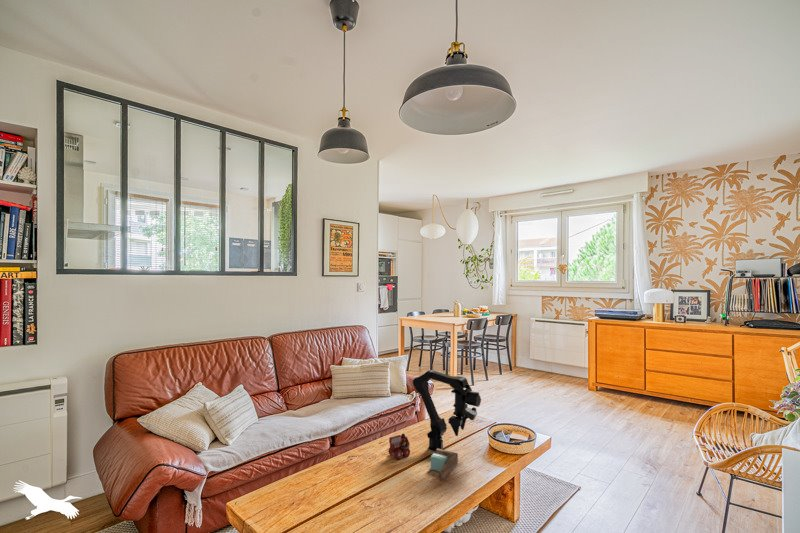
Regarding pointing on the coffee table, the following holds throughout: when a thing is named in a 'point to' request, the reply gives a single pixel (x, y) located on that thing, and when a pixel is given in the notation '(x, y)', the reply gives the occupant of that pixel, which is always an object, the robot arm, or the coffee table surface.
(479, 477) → the coffee table surface
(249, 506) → the coffee table surface
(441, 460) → the teal and white block
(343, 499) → the coffee table surface
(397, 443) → the toy fire truck
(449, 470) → the l-shaped wooden block
